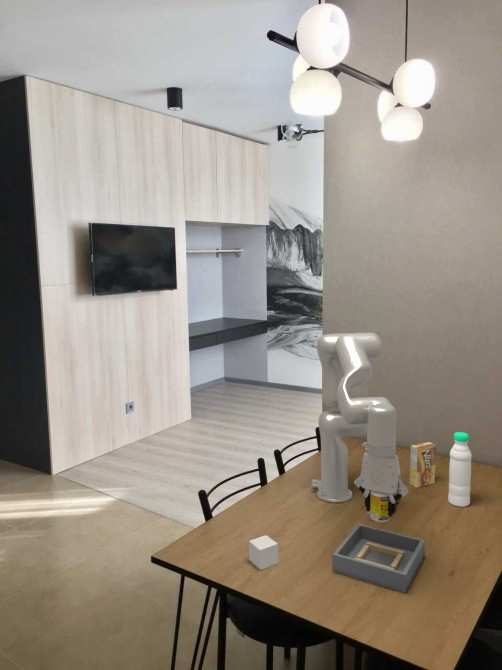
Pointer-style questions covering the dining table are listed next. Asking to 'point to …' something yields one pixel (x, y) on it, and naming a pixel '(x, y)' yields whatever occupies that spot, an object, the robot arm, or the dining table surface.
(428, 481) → the candy box
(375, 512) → the supplement bottle
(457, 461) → the water bottle
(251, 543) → the white cube
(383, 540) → the walled box
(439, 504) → the dining table surface
